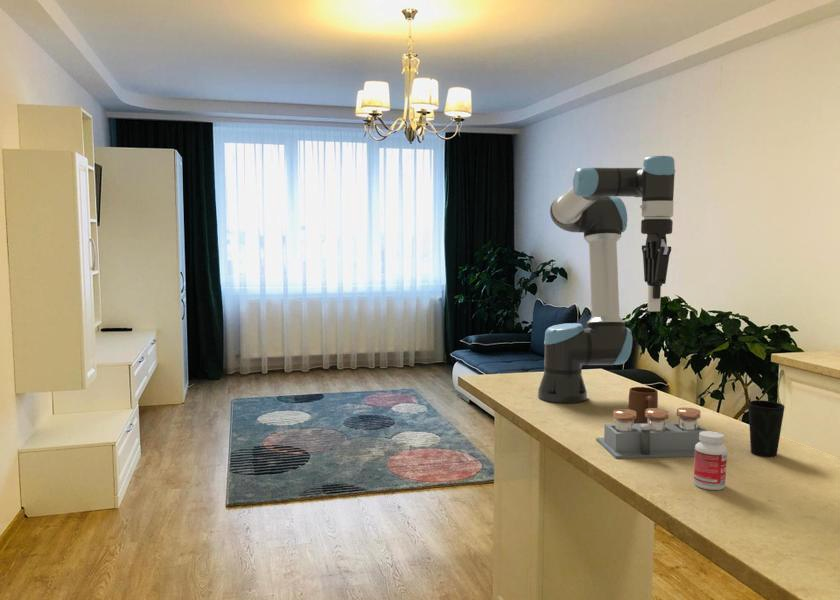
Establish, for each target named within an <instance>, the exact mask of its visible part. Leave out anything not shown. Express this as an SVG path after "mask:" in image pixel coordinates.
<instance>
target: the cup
mask: <svg viewBox="0 0 840 600" xmlns="http://www.w3.org/2000/svg"><path fill="white" fill-rule="evenodd" d="M747 405H748V421H749V423H748V425H749V438H750V439H749V444H750V445H749V446H750V453H751V454H752V455H754V456H757V457H762V458H775V456H776V457H777V455H778V450H779V443H780V437H781V430H782V425H783V419H784V411H785V405H784V404H782V403H781V402H776V401H770V400H762V399H761V400H751V401H748V403H747Z"/></svg>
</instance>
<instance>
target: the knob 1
mask: <svg viewBox="0 0 840 600" xmlns="http://www.w3.org/2000/svg"><path fill="white" fill-rule="evenodd" d="M612 412H613V413H612V418H613V419H615V423H614V424H615V430H616V431H617V432H633V422H634V420H635V419H636V411H634V410H630V409H628V408H615V409H613V411H612Z"/></svg>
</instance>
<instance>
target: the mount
mask: <svg viewBox="0 0 840 600" xmlns="http://www.w3.org/2000/svg"><path fill="white" fill-rule="evenodd" d="M641 424H647V423H638V424H633V432H617V431H616V430H615V423H604V433H603V434H604V436H603V437H596V439H595V440H596V442H597V443H598V444H600V445H601V446H602V447H603V448H604V449H605V450H606V451H607V452H608V453H609V454H611V456H612V457H614V459H640V458H641V459H644V458H645V459H646V458H647V459H648V458H653V459H654V458H685V457H686V458H688V457H689V458H691V457H692V458H693V457H694V458H695V445H696V444H697V443H698V442H700V440H699V433H700V432H702V431H709V430H708V429H706V428H705V427H703V426H701V425H699V424H698V423H697V430H681V429H679V422H666V425H665V431H650V454H649V455H643V454H641V429H640V425H641Z"/></svg>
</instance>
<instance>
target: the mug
mask: <svg viewBox="0 0 840 600" xmlns="http://www.w3.org/2000/svg"><path fill="white" fill-rule="evenodd" d="M658 393H659V391H658V390H657V389H655V388H653V387H648V386H647V387H645V386H635V387H634V386H633V387H630V388H629V393H628V408H627V409H630V410H634V411H636V419H635V420H634V422H633V424H638V423H647V417H645V410H646V409H648V408H658V406H659V404H658V403H659V397H658V395H659V394H658Z"/></svg>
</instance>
